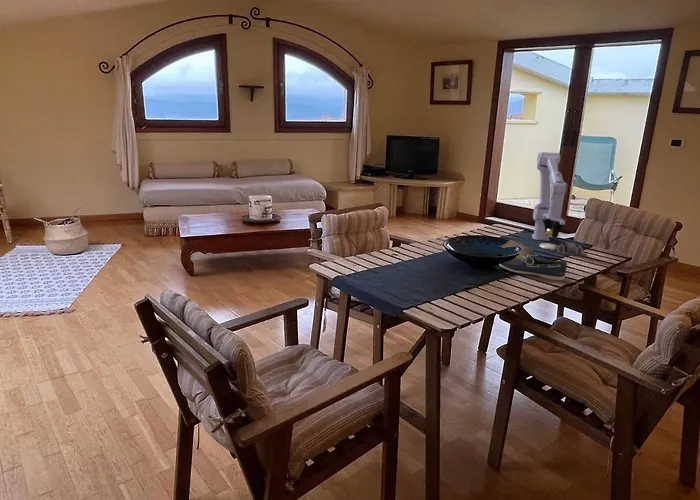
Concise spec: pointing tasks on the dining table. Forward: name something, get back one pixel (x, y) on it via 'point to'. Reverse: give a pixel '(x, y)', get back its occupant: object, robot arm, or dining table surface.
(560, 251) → the post base
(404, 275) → the dining table surface
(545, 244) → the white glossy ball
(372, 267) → the dining table surface
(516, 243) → the artifact
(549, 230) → the cap
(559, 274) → the boat shoe
